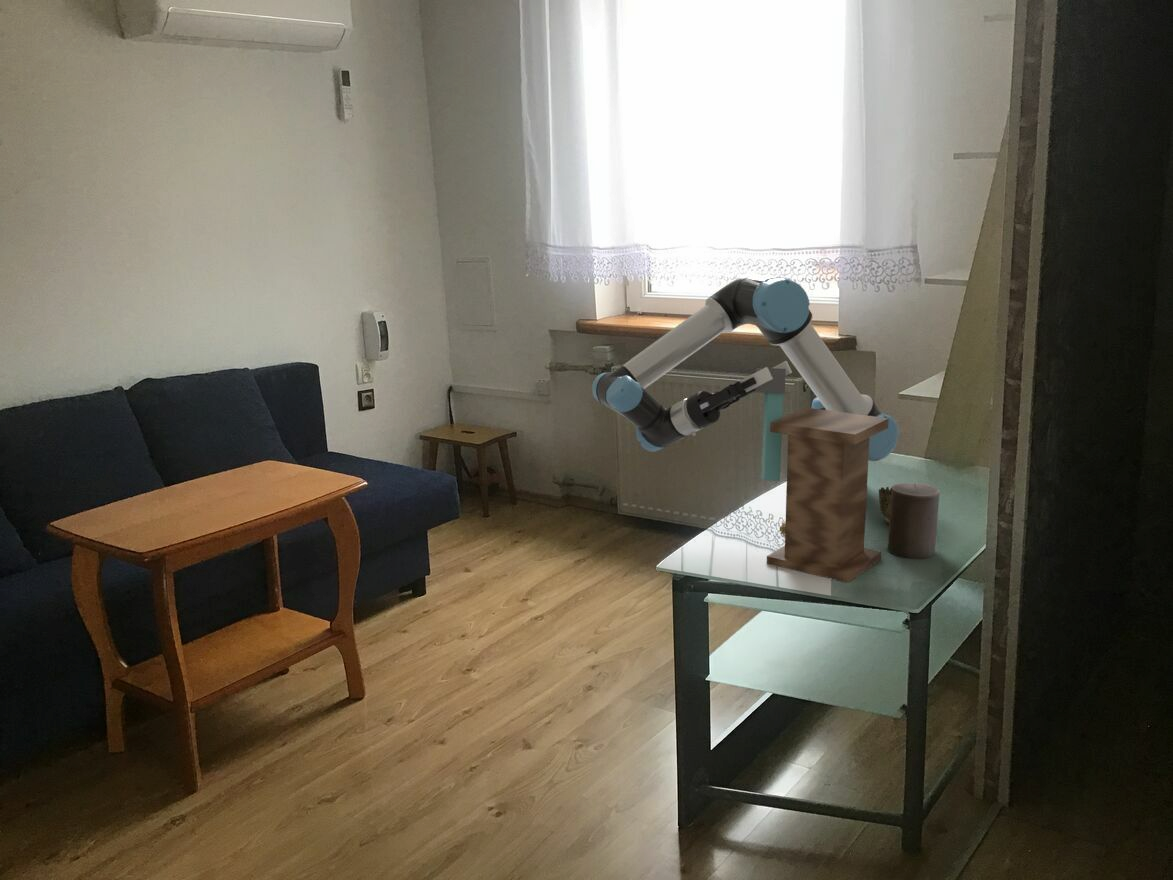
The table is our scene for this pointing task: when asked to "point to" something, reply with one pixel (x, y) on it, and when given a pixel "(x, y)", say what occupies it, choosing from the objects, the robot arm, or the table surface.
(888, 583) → the table surface
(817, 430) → the shelf stand
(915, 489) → the pillar candle
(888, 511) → the cup
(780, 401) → the hammer
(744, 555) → the table surface
